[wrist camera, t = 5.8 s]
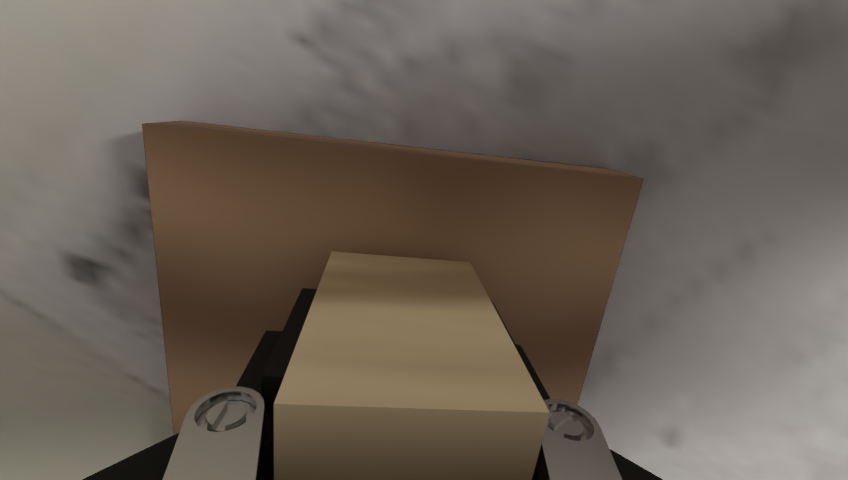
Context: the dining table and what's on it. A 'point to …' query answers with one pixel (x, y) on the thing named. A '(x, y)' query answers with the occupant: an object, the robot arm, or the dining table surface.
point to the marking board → (370, 239)
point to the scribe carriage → (405, 379)
